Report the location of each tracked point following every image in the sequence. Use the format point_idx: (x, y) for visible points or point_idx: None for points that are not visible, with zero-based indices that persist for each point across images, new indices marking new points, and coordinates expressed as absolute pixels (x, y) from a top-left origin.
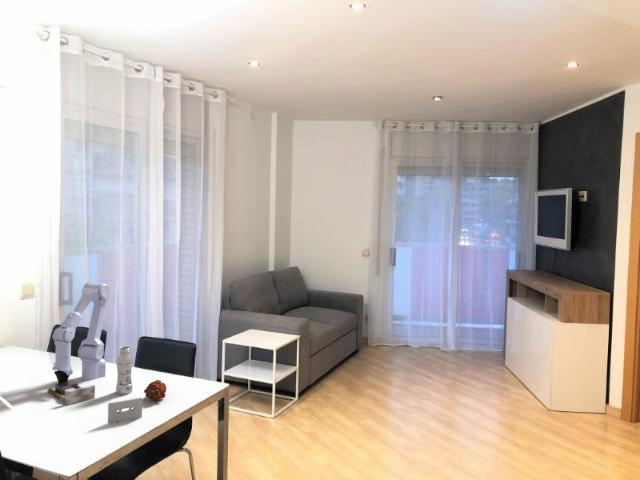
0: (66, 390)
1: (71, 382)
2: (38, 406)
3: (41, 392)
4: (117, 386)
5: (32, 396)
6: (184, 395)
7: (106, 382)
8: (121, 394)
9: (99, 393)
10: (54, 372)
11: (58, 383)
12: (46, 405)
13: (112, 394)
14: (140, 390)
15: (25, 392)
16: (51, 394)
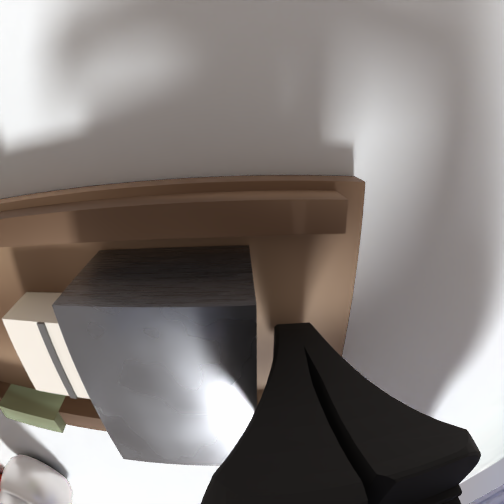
0: None
1: (182, 444)
2: (36, 18)
3: (423, 156)
4: (10, 485)
5: (371, 38)
6: None
7: None
8: (12, 457)
9: (93, 442)
10: (447, 457)
11: (249, 347)
12: (13, 82)
13: (57, 455)
14: (75, 499)
15: (497, 66)
16: (207, 185)
